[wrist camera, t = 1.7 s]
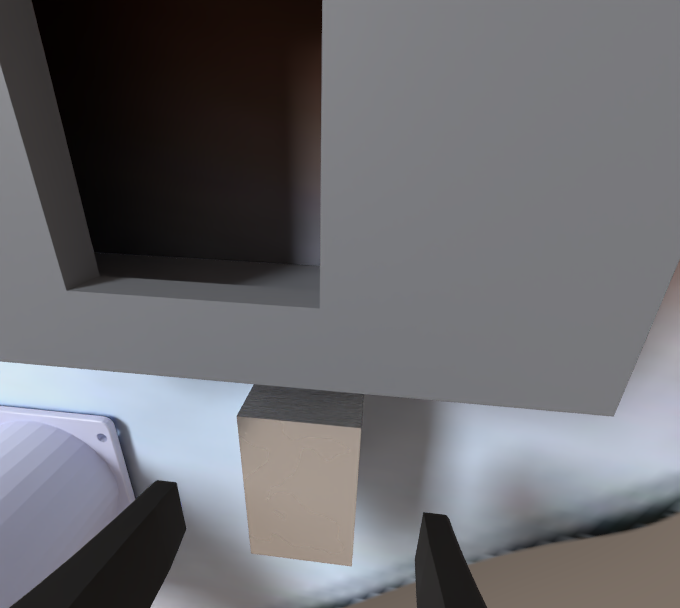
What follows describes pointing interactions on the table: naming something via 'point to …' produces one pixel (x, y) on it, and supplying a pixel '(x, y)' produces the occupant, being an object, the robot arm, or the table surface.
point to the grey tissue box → (393, 216)
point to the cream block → (301, 471)
